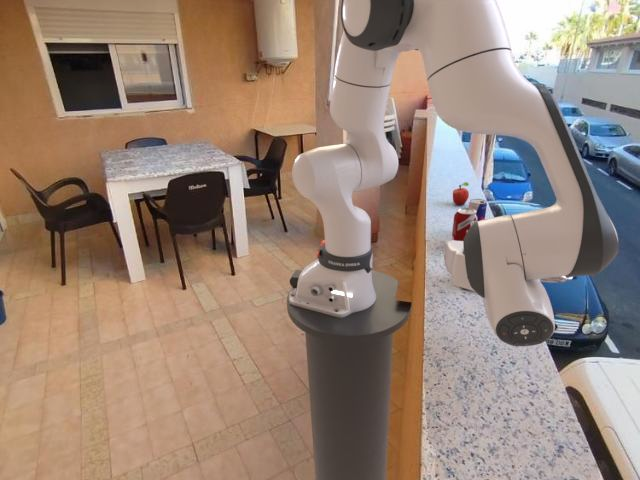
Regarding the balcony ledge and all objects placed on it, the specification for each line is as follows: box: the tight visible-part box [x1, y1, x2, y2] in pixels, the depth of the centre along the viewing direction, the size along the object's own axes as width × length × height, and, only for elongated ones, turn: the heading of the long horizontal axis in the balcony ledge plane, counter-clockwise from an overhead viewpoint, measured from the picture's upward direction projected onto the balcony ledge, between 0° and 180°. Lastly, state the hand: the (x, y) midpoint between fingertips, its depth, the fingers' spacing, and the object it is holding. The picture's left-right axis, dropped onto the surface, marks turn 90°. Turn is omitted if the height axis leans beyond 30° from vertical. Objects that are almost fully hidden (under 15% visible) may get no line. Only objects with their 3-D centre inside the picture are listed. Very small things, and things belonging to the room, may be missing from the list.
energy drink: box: [467, 198, 488, 221], centre depth 121 cm, size 5×5×12 cm
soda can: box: [451, 207, 478, 241], centre depth 114 cm, size 7×7×12 cm
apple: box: [452, 181, 470, 206], centre depth 151 cm, size 8×7×10 cm
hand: (496, 242), depth 76 cm, fingers open, 8 cm apart
